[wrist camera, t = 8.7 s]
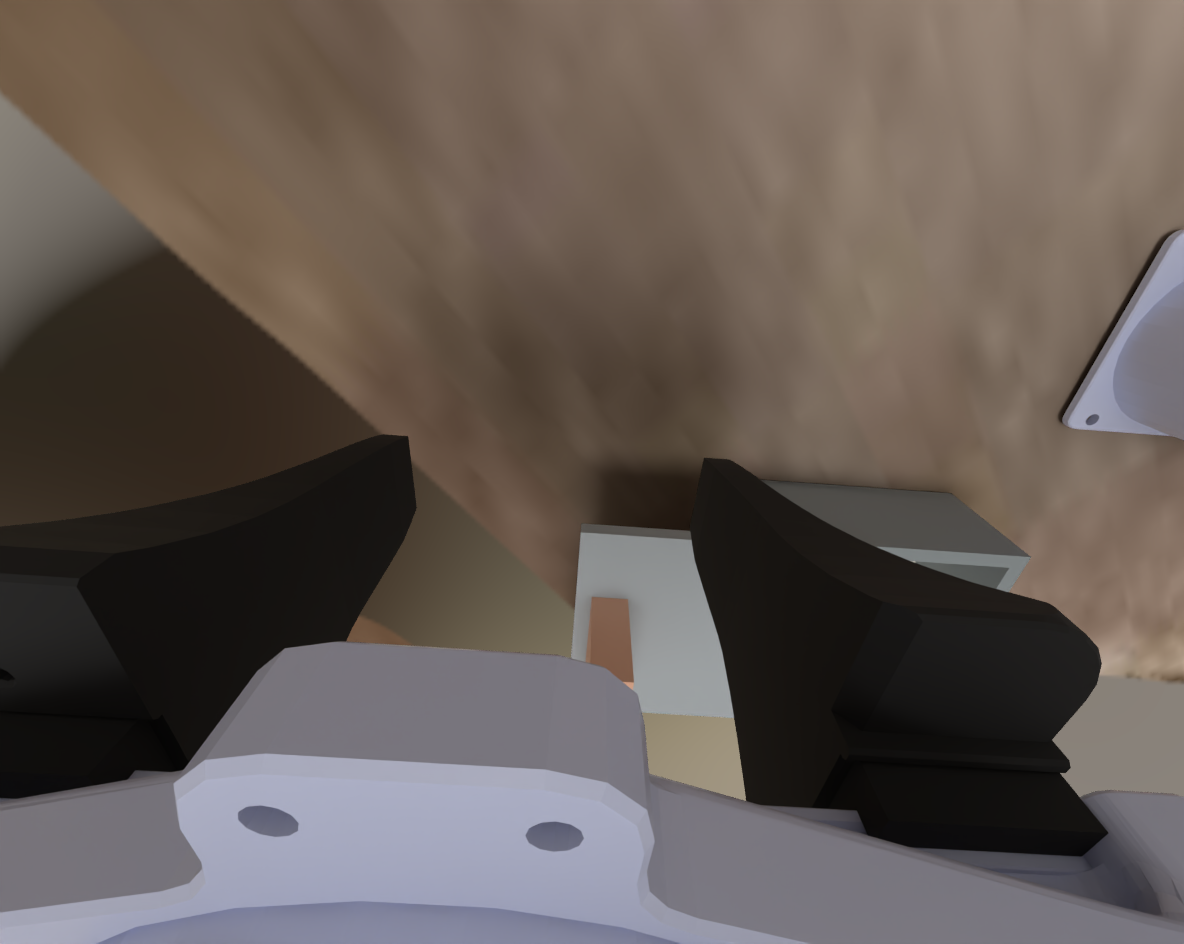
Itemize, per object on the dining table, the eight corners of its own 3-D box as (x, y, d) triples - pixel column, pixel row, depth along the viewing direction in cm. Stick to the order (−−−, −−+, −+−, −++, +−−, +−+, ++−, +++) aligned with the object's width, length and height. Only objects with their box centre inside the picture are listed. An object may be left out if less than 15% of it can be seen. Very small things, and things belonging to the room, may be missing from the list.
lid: (843, 541, 19) (908, 630, 15) (775, 709, 24) (811, 810, 20) (581, 523, 19) (576, 608, 15) (568, 696, 24) (561, 796, 20)
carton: (951, 493, 24) (1031, 557, 19) (878, 637, 29) (929, 714, 24) (751, 479, 24) (787, 540, 19) (712, 626, 28) (733, 702, 24)
